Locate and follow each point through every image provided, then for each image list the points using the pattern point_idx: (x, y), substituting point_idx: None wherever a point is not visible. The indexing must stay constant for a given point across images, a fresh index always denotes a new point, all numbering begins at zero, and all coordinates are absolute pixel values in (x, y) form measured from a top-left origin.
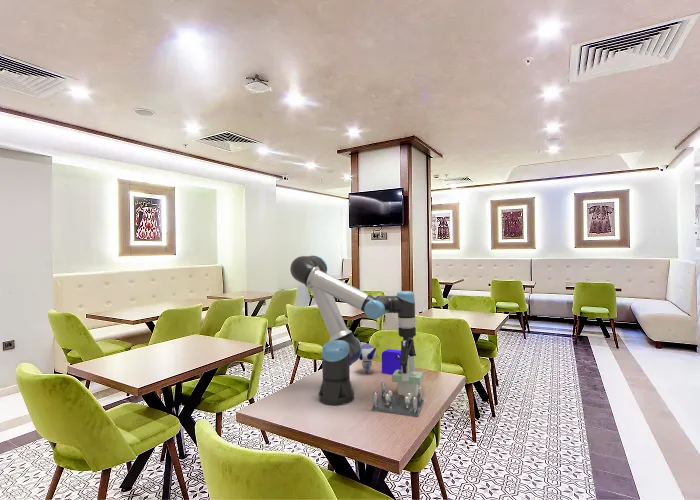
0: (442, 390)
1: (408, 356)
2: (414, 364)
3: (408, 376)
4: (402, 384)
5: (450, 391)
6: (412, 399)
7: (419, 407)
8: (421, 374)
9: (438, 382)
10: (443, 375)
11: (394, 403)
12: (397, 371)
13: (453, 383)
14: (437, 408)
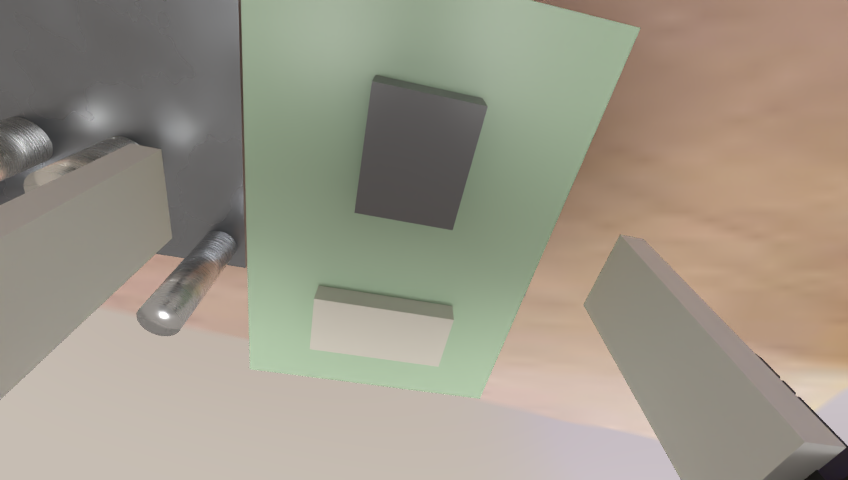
0: (506, 364)
1: (801, 448)
2: (638, 378)
3: (127, 272)
4: None
5: (489, 397)
6: (217, 186)
7: None
8: (385, 384)
9: None
10: (799, 385)
11: (27, 3)
12: (503, 57)
13: (627, 418)
14: (189, 324)
